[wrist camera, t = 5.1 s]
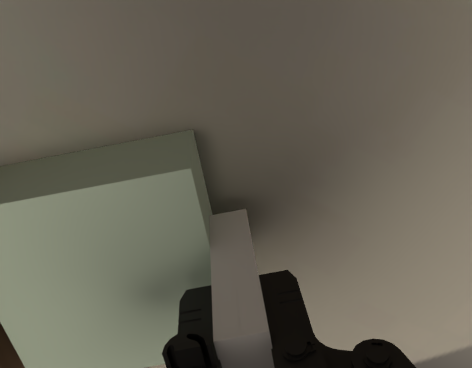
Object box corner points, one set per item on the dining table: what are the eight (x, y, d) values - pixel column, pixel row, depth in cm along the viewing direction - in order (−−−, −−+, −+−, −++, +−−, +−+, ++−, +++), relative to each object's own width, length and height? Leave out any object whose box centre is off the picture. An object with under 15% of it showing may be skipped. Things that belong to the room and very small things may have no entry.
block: (193, 127, 18) (190, 168, 14) (229, 285, 21) (234, 351, 17) (-6, 164, 18) (-59, 215, 14) (63, 316, 21) (35, 387, 18)
